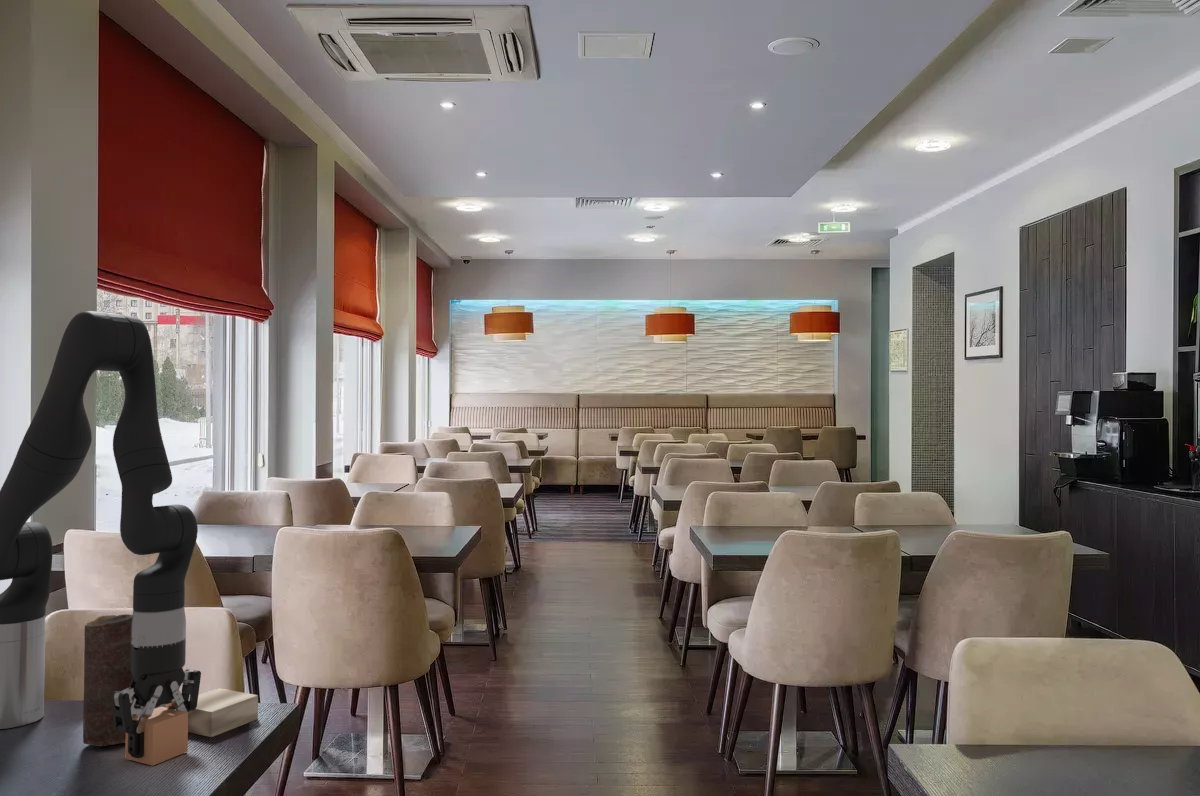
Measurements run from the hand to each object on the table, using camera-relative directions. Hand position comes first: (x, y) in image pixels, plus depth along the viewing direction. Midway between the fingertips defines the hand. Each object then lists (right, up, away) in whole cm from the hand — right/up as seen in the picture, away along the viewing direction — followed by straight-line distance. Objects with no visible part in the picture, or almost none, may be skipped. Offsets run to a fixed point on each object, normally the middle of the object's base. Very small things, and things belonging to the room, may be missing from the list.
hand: (156, 748), depth 133 cm
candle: (-10, -1, +5) cm, 11 cm away
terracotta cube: (0, -1, 0) cm, 1 cm away
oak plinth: (+3, -1, +14) cm, 15 cm away
